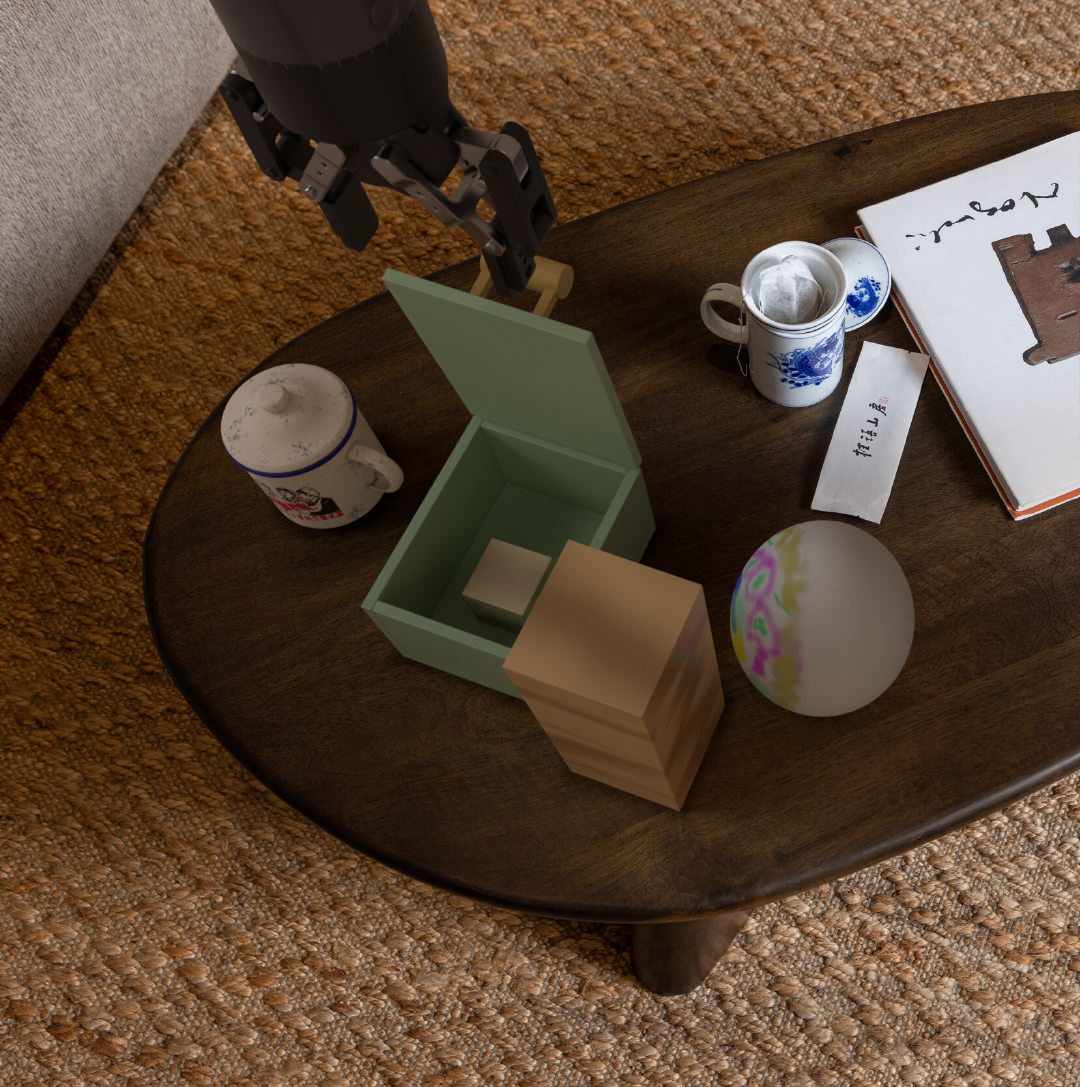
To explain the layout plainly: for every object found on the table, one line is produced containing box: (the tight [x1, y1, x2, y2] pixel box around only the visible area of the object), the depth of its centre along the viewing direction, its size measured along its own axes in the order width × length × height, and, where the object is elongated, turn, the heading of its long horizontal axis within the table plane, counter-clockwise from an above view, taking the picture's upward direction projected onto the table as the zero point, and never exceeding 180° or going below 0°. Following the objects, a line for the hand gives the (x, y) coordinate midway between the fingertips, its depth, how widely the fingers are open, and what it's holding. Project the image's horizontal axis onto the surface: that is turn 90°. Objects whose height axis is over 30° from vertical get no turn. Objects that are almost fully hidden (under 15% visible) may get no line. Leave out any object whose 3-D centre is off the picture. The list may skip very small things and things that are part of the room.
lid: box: [381, 254, 643, 469], centre depth 74 cm, size 16×13×5 cm
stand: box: [503, 540, 726, 812], centre depth 72 cm, size 8×8×20 cm
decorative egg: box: [729, 519, 916, 718], centre depth 77 cm, size 12×12×15 cm
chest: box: [360, 415, 657, 701], centre depth 81 cm, size 16×13×9 cm
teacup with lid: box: [220, 363, 405, 530], centre depth 84 cm, size 12×9×12 cm
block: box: [462, 538, 555, 634], centre depth 82 cm, size 5×5×5 cm
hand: (439, 260), depth 60 cm, fingers open, 8 cm apart
